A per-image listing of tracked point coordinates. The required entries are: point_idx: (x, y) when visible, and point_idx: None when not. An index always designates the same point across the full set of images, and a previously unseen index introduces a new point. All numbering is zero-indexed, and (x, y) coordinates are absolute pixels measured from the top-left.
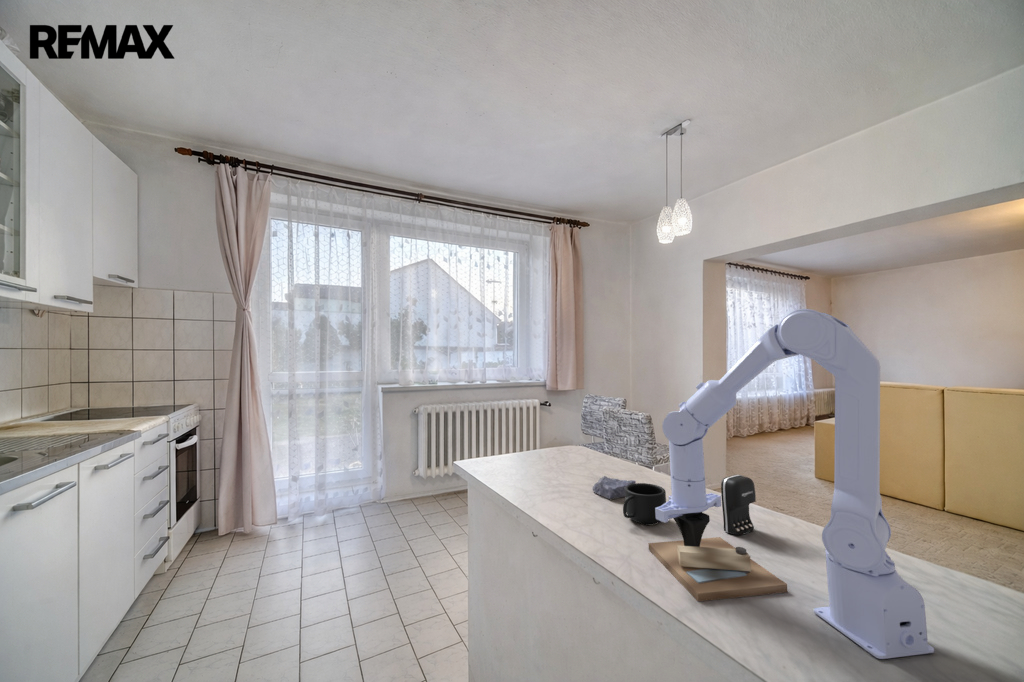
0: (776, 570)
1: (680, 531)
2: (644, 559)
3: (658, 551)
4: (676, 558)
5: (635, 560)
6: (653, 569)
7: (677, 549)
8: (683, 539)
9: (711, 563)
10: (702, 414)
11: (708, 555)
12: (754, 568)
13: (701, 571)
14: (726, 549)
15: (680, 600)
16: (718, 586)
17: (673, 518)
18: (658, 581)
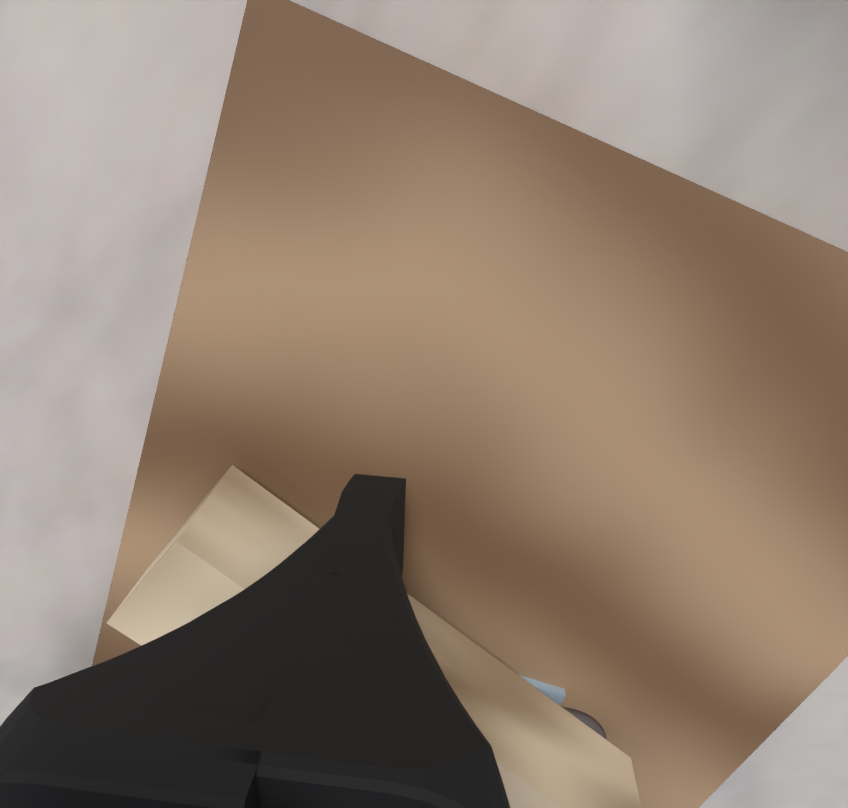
0: (829, 765)
1: (265, 575)
2: (100, 145)
3: (220, 217)
4: (277, 408)
5: (5, 109)
6: (74, 319)
7: (189, 523)
8: (324, 525)
9: None
10: None
11: None
12: (650, 770)
13: None
14: (525, 802)
15: (23, 623)
16: None
17: (82, 676)
18: (13, 447)
